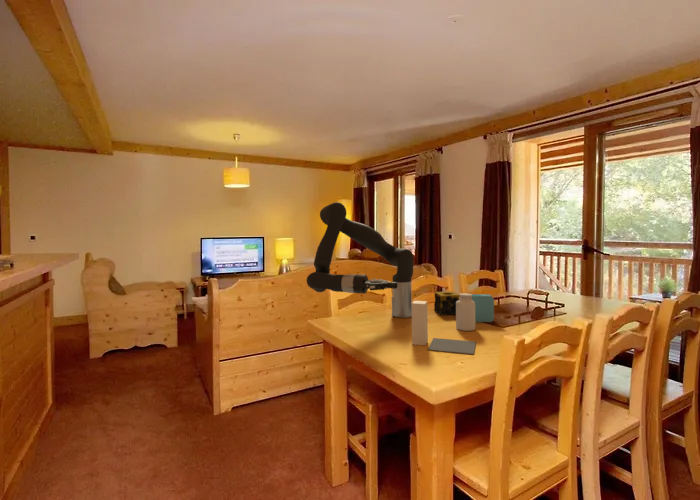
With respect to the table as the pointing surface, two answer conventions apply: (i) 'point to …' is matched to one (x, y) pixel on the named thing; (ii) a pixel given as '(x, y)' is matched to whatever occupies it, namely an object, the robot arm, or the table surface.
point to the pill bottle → (465, 312)
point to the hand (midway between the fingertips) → (397, 285)
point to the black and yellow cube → (446, 302)
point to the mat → (452, 346)
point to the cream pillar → (419, 323)
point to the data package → (483, 307)
